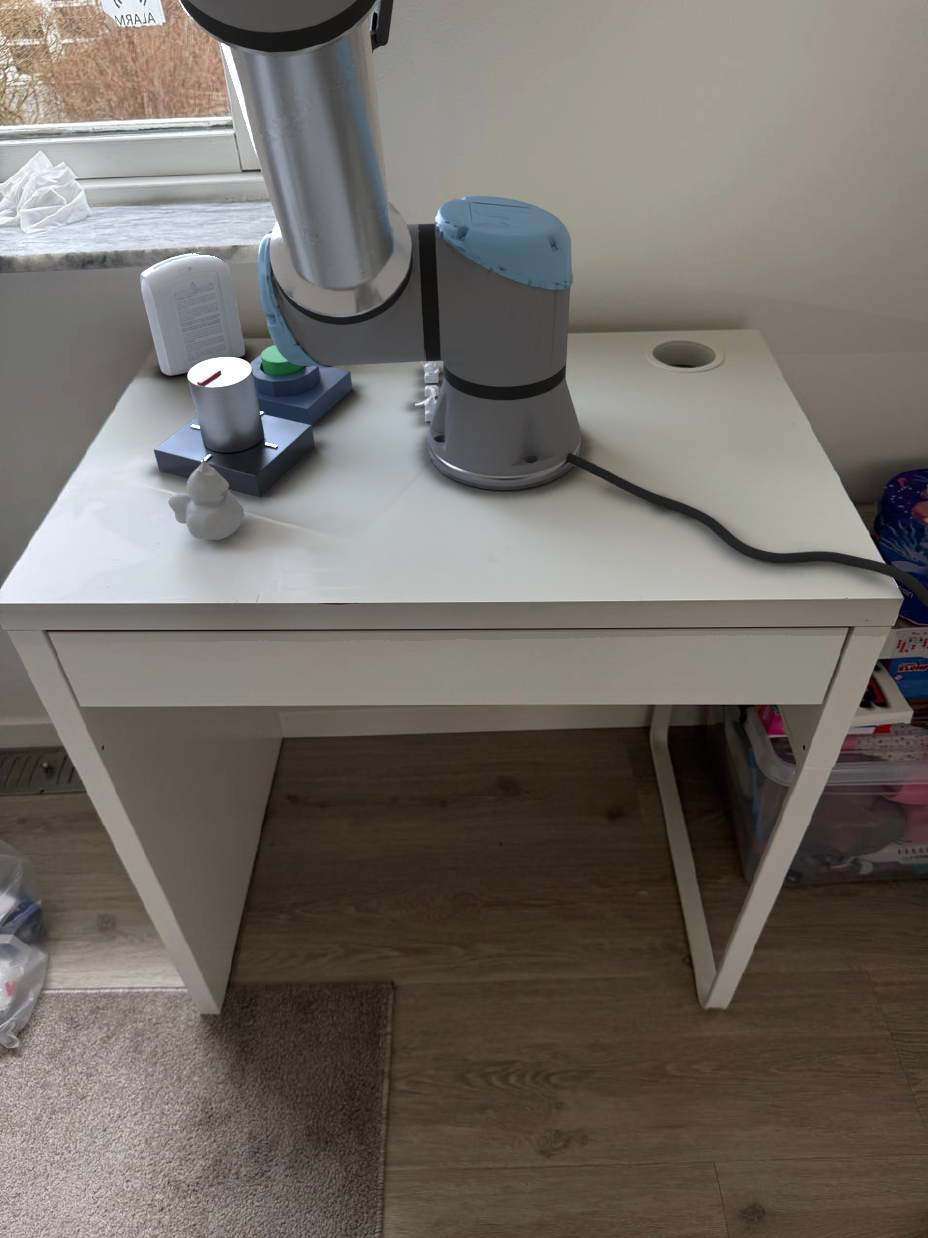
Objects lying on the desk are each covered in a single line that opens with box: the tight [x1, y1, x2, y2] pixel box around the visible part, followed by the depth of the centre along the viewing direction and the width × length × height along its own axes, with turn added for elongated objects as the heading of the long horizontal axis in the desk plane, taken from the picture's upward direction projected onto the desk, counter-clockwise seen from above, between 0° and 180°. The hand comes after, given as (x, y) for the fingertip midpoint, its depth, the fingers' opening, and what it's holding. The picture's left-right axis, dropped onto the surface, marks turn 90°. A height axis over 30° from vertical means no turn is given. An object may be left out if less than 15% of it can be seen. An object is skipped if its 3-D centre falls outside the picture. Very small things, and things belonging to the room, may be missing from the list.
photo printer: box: [139, 252, 246, 377], centre depth 107 cm, size 10×4×12 cm, turn 123°
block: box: [249, 354, 353, 426], centre depth 103 cm, size 11×9×4 cm
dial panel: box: [153, 411, 315, 498], centre depth 94 cm, size 12×10×3 cm
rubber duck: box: [167, 458, 245, 541], centre depth 83 cm, size 5×7×8 cm
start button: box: [260, 344, 304, 376], centre depth 101 cm, size 4×4×2 cm
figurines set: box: [414, 361, 441, 423], centre depth 103 cm, size 12×3×3 cm, turn 2°
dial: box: [186, 357, 264, 453], centre depth 91 cm, size 6×6×7 cm
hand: (356, 128), depth 95 cm, fingers closed
